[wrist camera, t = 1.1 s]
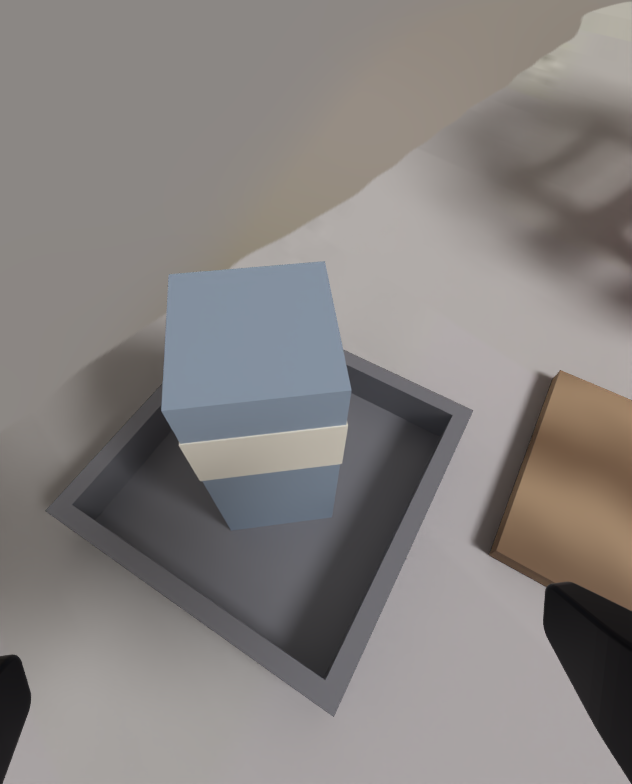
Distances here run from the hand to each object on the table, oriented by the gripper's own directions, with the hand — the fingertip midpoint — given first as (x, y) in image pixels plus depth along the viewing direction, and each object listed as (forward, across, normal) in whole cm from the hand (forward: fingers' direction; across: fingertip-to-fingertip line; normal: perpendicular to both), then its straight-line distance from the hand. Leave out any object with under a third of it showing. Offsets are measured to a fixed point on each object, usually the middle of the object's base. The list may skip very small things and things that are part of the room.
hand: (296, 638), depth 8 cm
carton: (+15, 0, +4) cm, 16 cm away
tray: (+16, 0, +4) cm, 16 cm away
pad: (+13, -18, +7) cm, 23 cm away
